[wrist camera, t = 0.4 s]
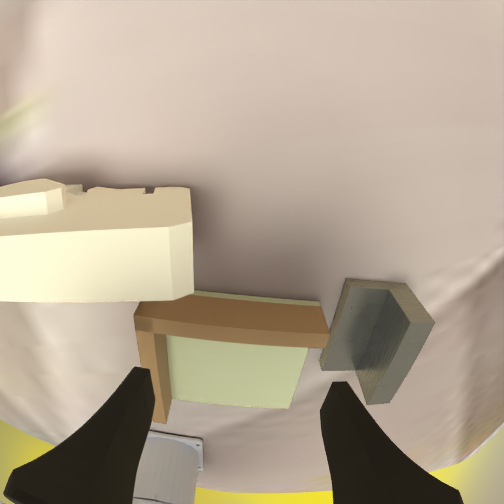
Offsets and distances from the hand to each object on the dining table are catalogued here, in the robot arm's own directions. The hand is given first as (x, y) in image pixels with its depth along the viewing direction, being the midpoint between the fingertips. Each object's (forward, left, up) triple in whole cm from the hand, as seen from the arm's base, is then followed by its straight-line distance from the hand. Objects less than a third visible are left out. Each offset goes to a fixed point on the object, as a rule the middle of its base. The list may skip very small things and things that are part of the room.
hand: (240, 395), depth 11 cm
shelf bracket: (+3, +16, -10) cm, 19 cm away
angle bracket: (-4, -10, -10) cm, 14 cm away
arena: (-8, 0, -10) cm, 13 cm away
